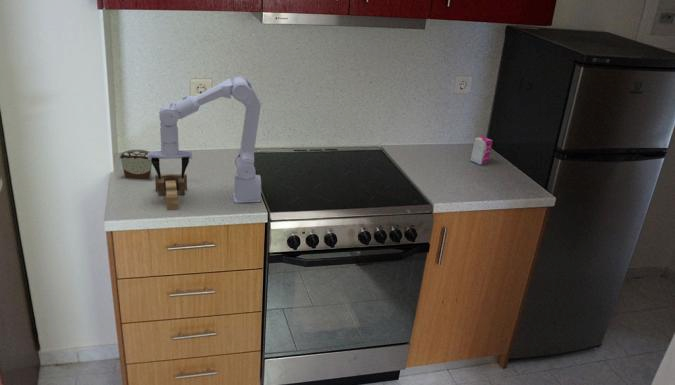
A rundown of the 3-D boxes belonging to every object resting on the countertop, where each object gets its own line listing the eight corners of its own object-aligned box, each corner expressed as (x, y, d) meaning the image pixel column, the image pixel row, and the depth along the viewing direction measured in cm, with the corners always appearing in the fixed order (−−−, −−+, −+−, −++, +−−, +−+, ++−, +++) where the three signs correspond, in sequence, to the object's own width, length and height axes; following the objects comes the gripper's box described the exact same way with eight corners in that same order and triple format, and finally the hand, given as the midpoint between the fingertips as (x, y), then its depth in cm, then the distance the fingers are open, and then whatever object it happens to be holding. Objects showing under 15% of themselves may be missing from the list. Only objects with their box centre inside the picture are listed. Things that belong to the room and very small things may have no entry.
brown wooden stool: (187, 188, 221) (186, 173, 218) (187, 194, 216) (187, 179, 214) (155, 189, 218) (155, 174, 215) (155, 195, 213) (154, 180, 211)
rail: (165, 192, 217) (165, 180, 215) (175, 192, 218) (175, 179, 216) (167, 210, 204) (166, 197, 202) (178, 210, 205) (177, 197, 203)
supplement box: (480, 166, 267) (485, 141, 262) (469, 161, 271) (474, 137, 266) (488, 163, 270) (493, 139, 266) (478, 159, 274) (482, 135, 270)
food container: (158, 174, 230) (157, 150, 226) (154, 180, 225) (153, 156, 220) (125, 172, 229) (123, 147, 225) (120, 178, 224) (118, 153, 220)
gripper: (191, 136, 207) (192, 172, 213) (147, 137, 203) (149, 173, 209) (192, 143, 201) (193, 180, 207) (146, 144, 197) (149, 182, 203)
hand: (171, 177), depth 207 cm, fingers open, 7 cm apart
